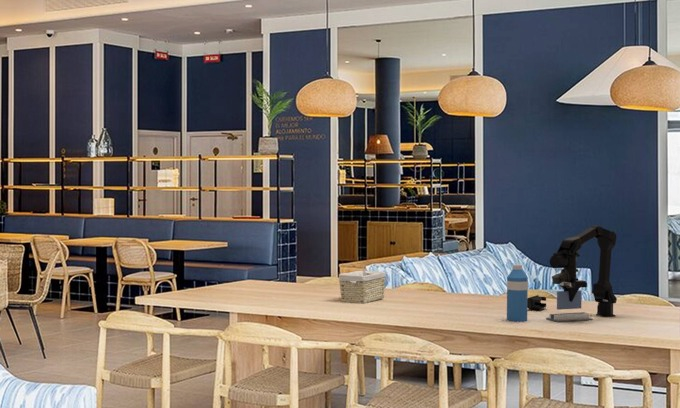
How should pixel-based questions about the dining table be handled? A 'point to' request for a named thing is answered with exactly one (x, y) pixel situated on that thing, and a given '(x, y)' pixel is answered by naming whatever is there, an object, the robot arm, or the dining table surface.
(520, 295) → the water bottle
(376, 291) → the storage basket
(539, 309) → the end cap
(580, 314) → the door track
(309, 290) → the dining table surface
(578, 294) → the door panel
